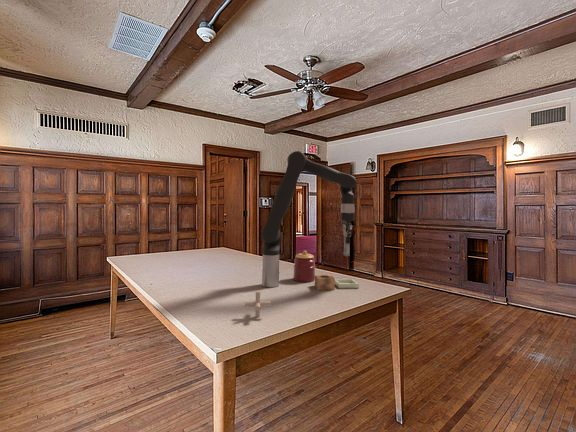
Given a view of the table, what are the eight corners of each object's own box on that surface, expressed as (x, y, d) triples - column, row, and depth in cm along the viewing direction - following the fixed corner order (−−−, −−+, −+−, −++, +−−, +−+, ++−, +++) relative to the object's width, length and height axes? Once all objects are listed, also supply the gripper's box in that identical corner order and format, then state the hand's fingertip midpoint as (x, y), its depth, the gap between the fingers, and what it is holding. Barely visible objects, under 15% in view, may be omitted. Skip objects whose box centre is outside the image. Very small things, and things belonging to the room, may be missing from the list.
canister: (308, 283, 173) (309, 252, 173) (289, 280, 180) (289, 250, 180) (318, 279, 184) (319, 250, 184) (300, 276, 191) (301, 248, 191)
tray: (339, 288, 164) (339, 284, 164) (333, 283, 175) (333, 279, 175) (358, 288, 165) (358, 283, 165) (352, 283, 176) (352, 278, 176)
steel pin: (344, 256, 168) (345, 228, 167) (342, 255, 171) (343, 228, 170) (350, 256, 168) (350, 229, 168) (348, 255, 171) (349, 228, 171)
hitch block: (318, 290, 160) (318, 278, 160) (314, 285, 169) (314, 274, 169) (334, 289, 162) (334, 278, 161) (330, 285, 171) (330, 274, 170)
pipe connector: (245, 312, 125) (245, 288, 125) (269, 312, 126) (270, 288, 125) (244, 321, 115) (244, 295, 115) (270, 321, 116) (271, 295, 116)
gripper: (337, 211, 175) (336, 241, 176) (344, 212, 161) (344, 244, 162) (350, 211, 176) (349, 241, 177) (358, 212, 162) (357, 244, 163)
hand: (346, 242), depth 169 cm, fingers closed on steel pin, 3 cm apart
